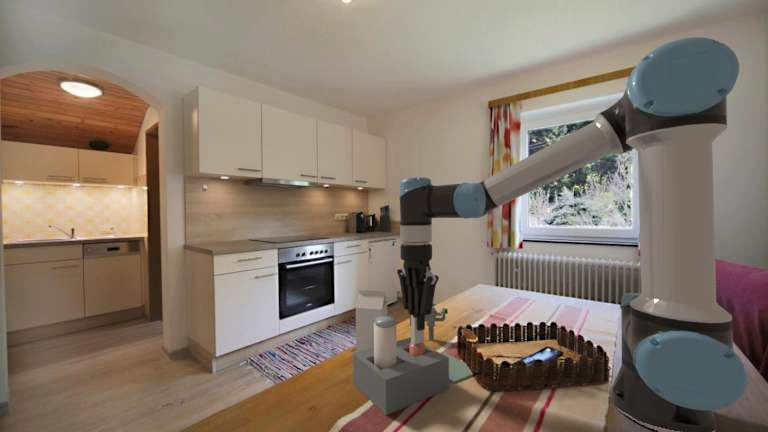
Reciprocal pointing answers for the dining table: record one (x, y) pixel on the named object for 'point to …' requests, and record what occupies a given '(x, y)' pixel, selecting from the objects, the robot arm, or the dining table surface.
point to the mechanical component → (432, 318)
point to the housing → (401, 377)
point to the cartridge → (385, 342)
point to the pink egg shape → (417, 349)
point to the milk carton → (368, 316)
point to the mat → (457, 369)
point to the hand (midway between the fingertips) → (417, 342)
